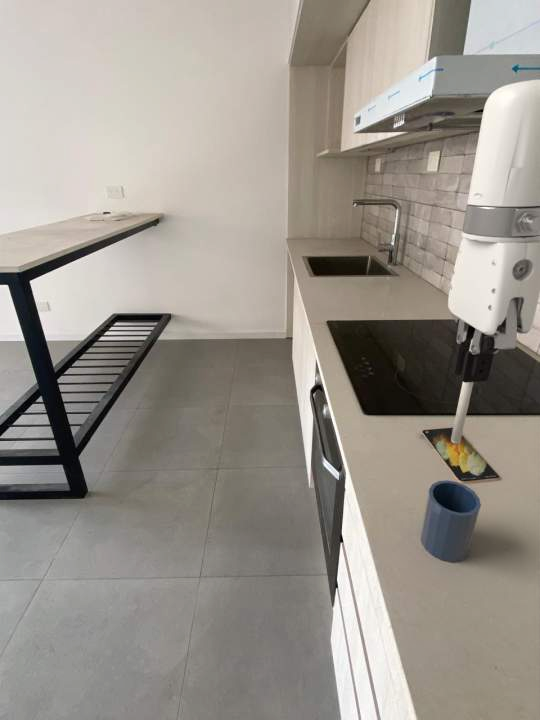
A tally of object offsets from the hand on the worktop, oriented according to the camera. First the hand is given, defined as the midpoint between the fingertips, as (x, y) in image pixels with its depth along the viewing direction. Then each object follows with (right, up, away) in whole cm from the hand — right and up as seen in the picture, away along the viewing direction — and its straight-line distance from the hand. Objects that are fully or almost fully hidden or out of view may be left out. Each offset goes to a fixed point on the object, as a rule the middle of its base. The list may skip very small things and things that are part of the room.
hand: (469, 376), depth 50 cm
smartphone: (+9, -16, +23) cm, 30 cm away
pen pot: (-1, -24, +6) cm, 25 cm away
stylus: (0, -9, +4) cm, 11 cm away
